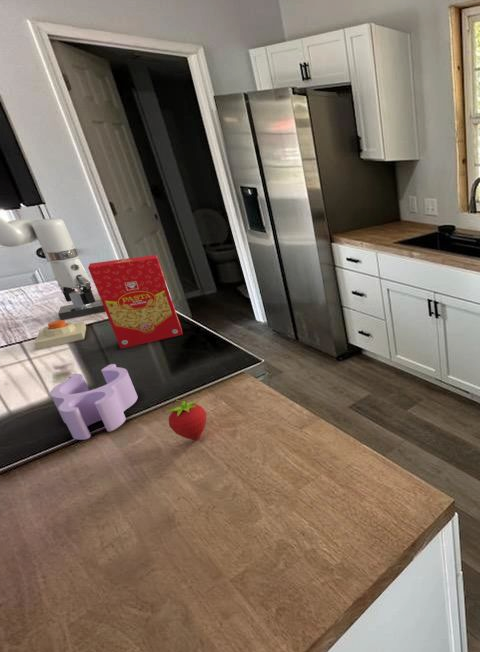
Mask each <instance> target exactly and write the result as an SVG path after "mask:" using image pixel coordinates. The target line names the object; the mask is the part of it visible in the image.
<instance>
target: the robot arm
mask: <svg viewBox="0 0 480 652" xmlns="http://www.w3.org/2000/svg"><path fill="white" fill-rule="evenodd" d="M36 241H38V243H39V245H40V247H41V250H42V252H43V254H44V256H45V258H46V260H47V263H49V264H50V268H51V271H52V273H53V276H54V279H55V281H56V282H57V284H58V286H59V287H60V291H61V292H62V294H63V296H64V299H65V301H66V302H72V301H71V298H70V296H69V293H72V292H73V291H79V292H80V293H81V294H80V297H81V299H82V301H83V304H84V305H87V304H90V303H94V302H95V300H96V299H95V296H94V293H93V290H92V286H91V285H92V282H91V279H90V276H89V275H88V272H87V271H86V269H85V266H84V265H83V263H82V262H81V260H80V259H79V255H78V252H77V249H76V247H75V244H74V242H73V239H72V237H71V235H70V233H69V230H68V227H67V225H66V223H65V221H64V220H63V219H61V218H58V217H57V218H42V219H34V218H33V219H32V218H18V219H14V220H9V221H6V220H4V219H3V218H2V217H0V246H1V247H2V246H3V247H8V248H12V247H13V248H14V247H19V246H21V245H25V244H28V243H33V242H36Z"/></svg>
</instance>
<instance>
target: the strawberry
mask: <svg viewBox="0 0 480 652" xmlns="http://www.w3.org/2000/svg"><path fill="white" fill-rule="evenodd" d="M176 401H177V402H181V404H180V406H176V407H171V409H168V410H165V411H164V413H170V415H169V416H168V418H167V419H168V426H169V428H170V429H171V430H172V431H173V432H174V433H175V434H176V435H178V436H181V437H182V438H185V439H188V440H191V441H193V442H197V441H199V440H200V438H201V436H202V434H203V432H204V430H205V427H206V424H207V412H206V410H205V409H204V407H203V406H201V405H199V404H196V403H198V402H199V400H196V401H195V400H194V401H191V402H187V401H186V400H184V401H183V400H178V399H176Z"/></svg>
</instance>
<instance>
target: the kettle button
mask: <svg viewBox="0 0 480 652" xmlns="http://www.w3.org/2000/svg"><path fill="white" fill-rule="evenodd" d="M65 322H66V321H65V320H61V319H59V320H54V321H51V322H48V323H47V326H49V328H50V329H57V328H61V327H64V326H66V323H65Z"/></svg>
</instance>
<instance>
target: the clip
mask: <svg viewBox="0 0 480 652" xmlns="http://www.w3.org/2000/svg"><path fill="white" fill-rule="evenodd" d="M101 373H102V376H103V378H104V380H105V383H106V384H104V385H102V386H99V387H96V388H93V389H89V387H88V384H87V382H86V380H85V378H84V375H83V374H81V373H77V372H76V373H75V372H74V373H71V374H69V375H67V376H68V378H67V379H65V380H63V381H62V382H60V383H58V384H56V385H55V386H54V387H53V388H51V390H50V392H49V395H50V397H51V400H52V402H53V403H54V405H55V407H56V409H57V411H58V413H59V415H60V417H61V419H62V421H63V423H64V424H65V425H66V427H67V428H68V430H69V432H70V435H71V437H72V438H73V439H74V440H79V441H82V440H88V439H90V438H91V437H92V434H91V432H90V430H89V428H88V427H89V426H90V425H93V424H95V423H97V422H98V423H99V422H100V421H102V423H103V425H104V427H105V430H106V431H107V432H113V431H115V430H116V429H118V428H119V427H121V426H122V425H123V424H124V423H125V422H126V419H127V418H126V415H125V413H124V412H125V411H127V409H129V408H131V407H132V406H133V405H135V403H136V402H137V400H138V394H137V391H136V389H135V386H134V384H133V381H132V379H131V377H130V374H129V372H128V370H127V368H124V367H118V366H117V364H116V363H111V364H108V365H106V366H105V367H103V368H102V369H101Z"/></svg>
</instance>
